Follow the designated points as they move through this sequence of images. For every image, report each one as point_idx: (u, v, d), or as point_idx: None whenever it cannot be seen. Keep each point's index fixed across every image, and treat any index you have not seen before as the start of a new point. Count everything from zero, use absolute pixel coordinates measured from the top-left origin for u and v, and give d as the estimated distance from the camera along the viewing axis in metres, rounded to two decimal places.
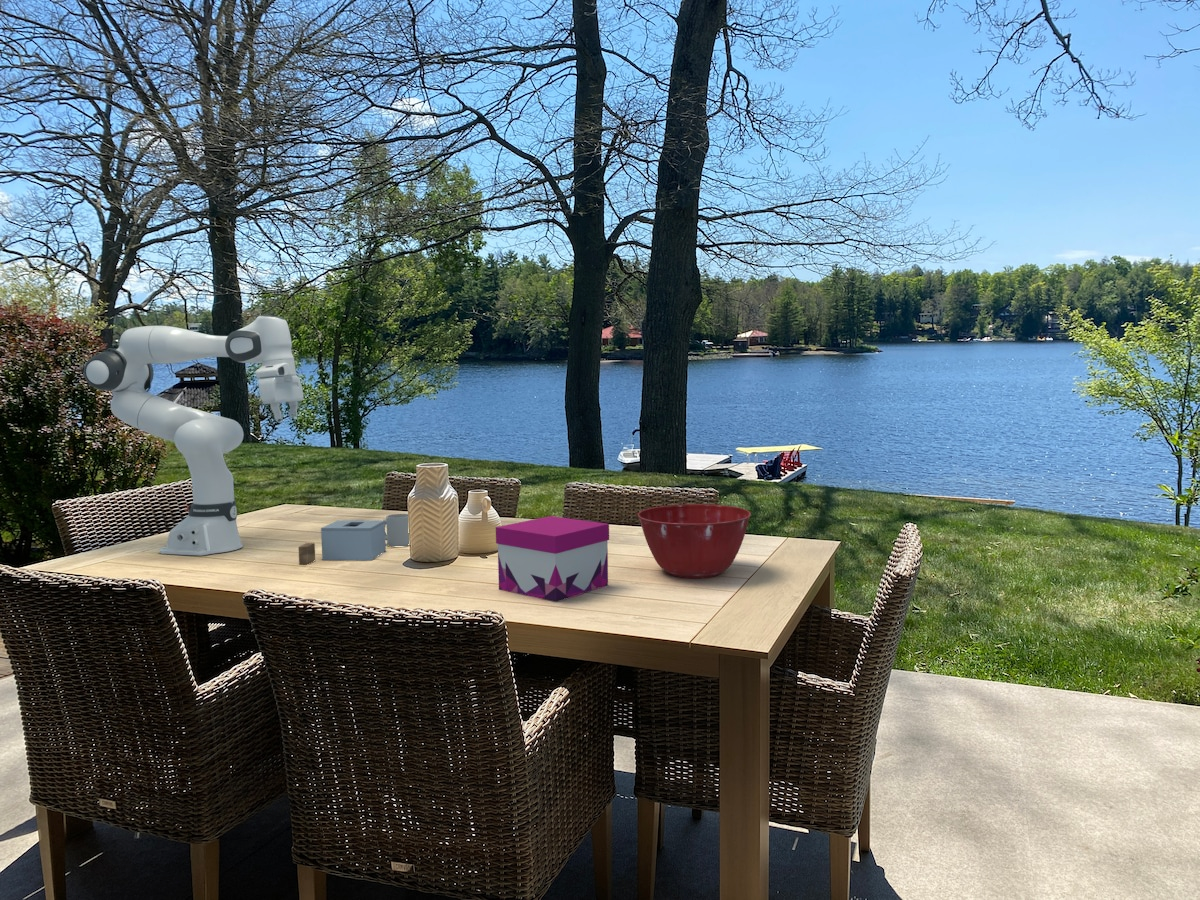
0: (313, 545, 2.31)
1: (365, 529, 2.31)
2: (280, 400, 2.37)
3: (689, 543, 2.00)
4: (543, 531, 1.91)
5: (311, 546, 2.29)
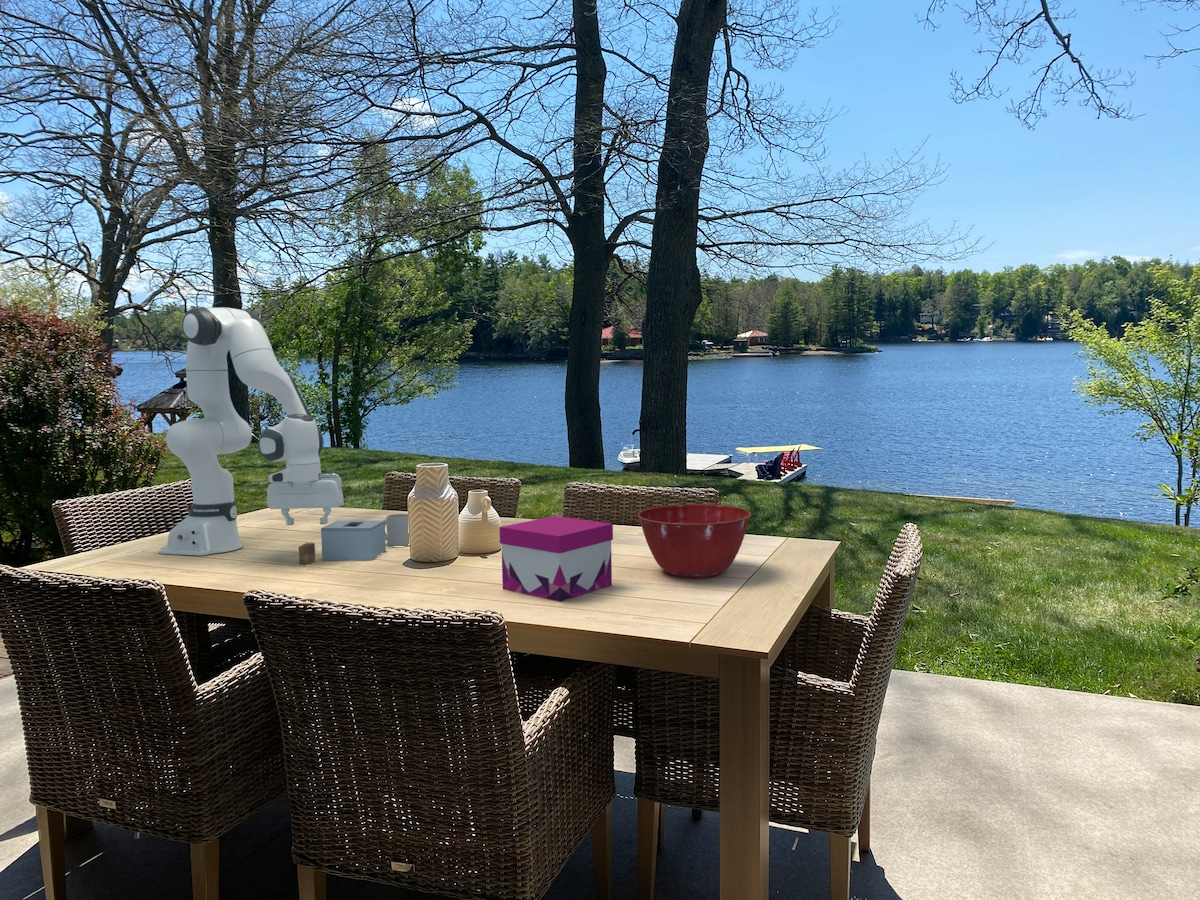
0: (313, 545, 2.31)
1: (365, 529, 2.31)
2: (282, 507, 2.27)
3: (689, 543, 2.00)
4: (547, 531, 1.91)
5: (311, 546, 2.29)
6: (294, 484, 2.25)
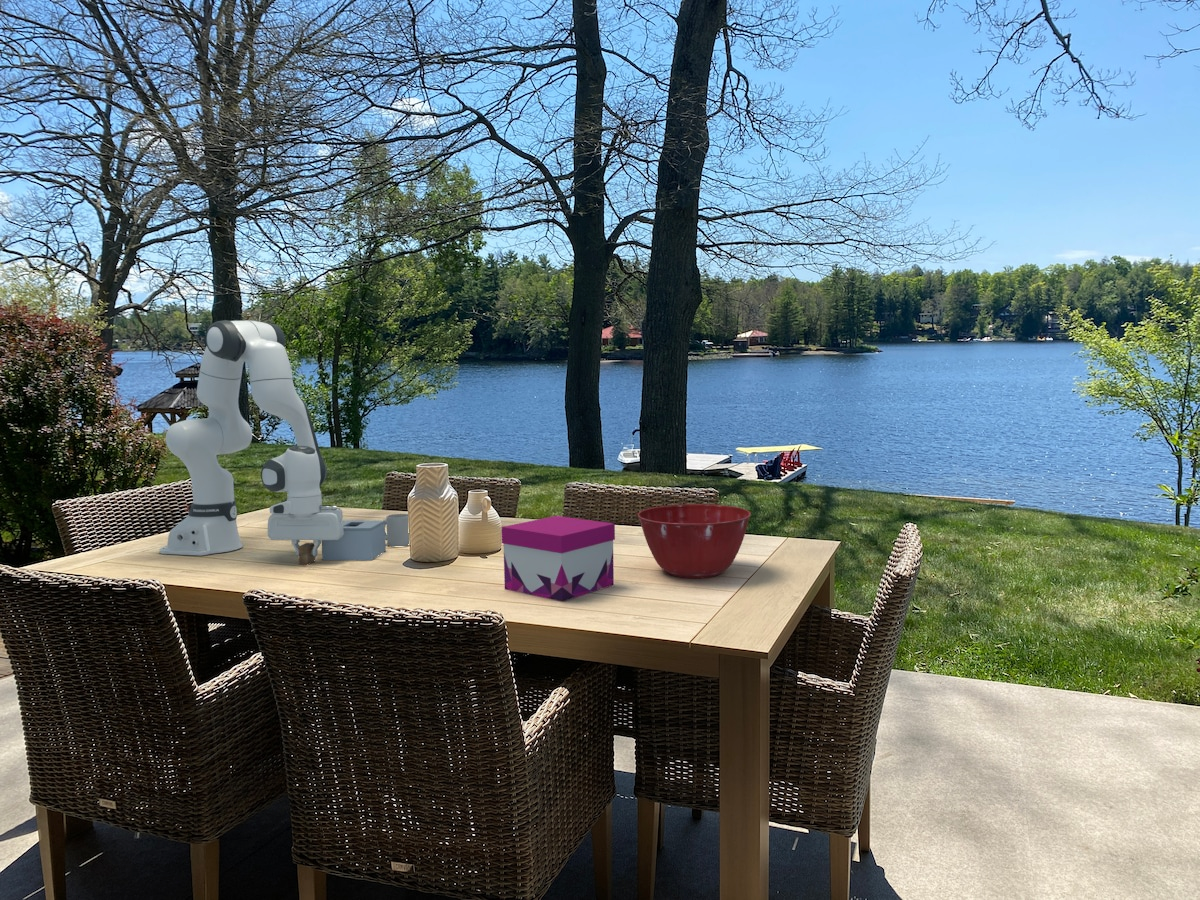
0: (313, 545, 2.31)
1: (365, 529, 2.31)
2: (282, 538, 2.28)
3: (689, 543, 2.00)
4: (549, 531, 1.91)
5: (311, 546, 2.29)
6: (295, 516, 2.26)
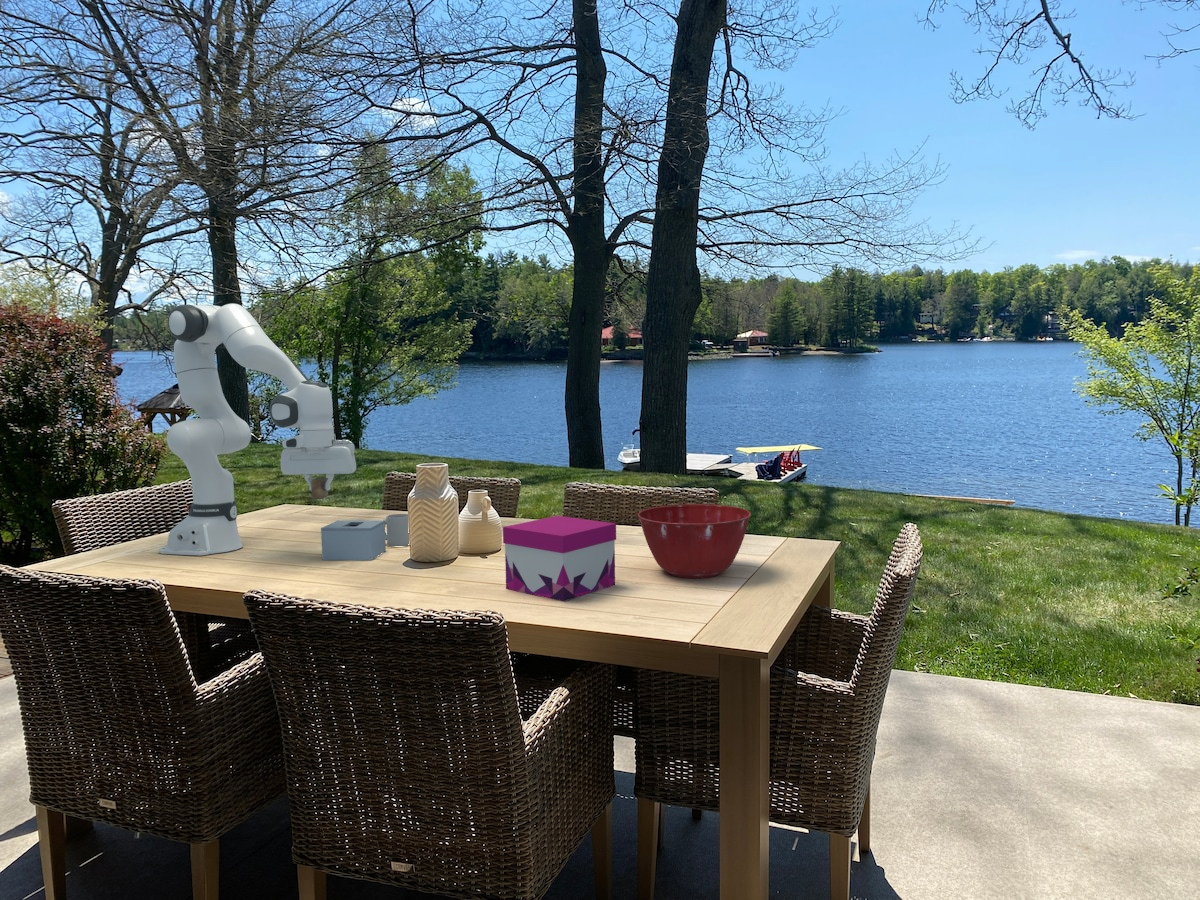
0: (326, 480, 2.31)
1: (365, 529, 2.31)
2: (295, 472, 2.28)
3: (689, 543, 2.00)
4: (550, 531, 1.91)
5: (324, 481, 2.30)
6: (307, 450, 2.26)
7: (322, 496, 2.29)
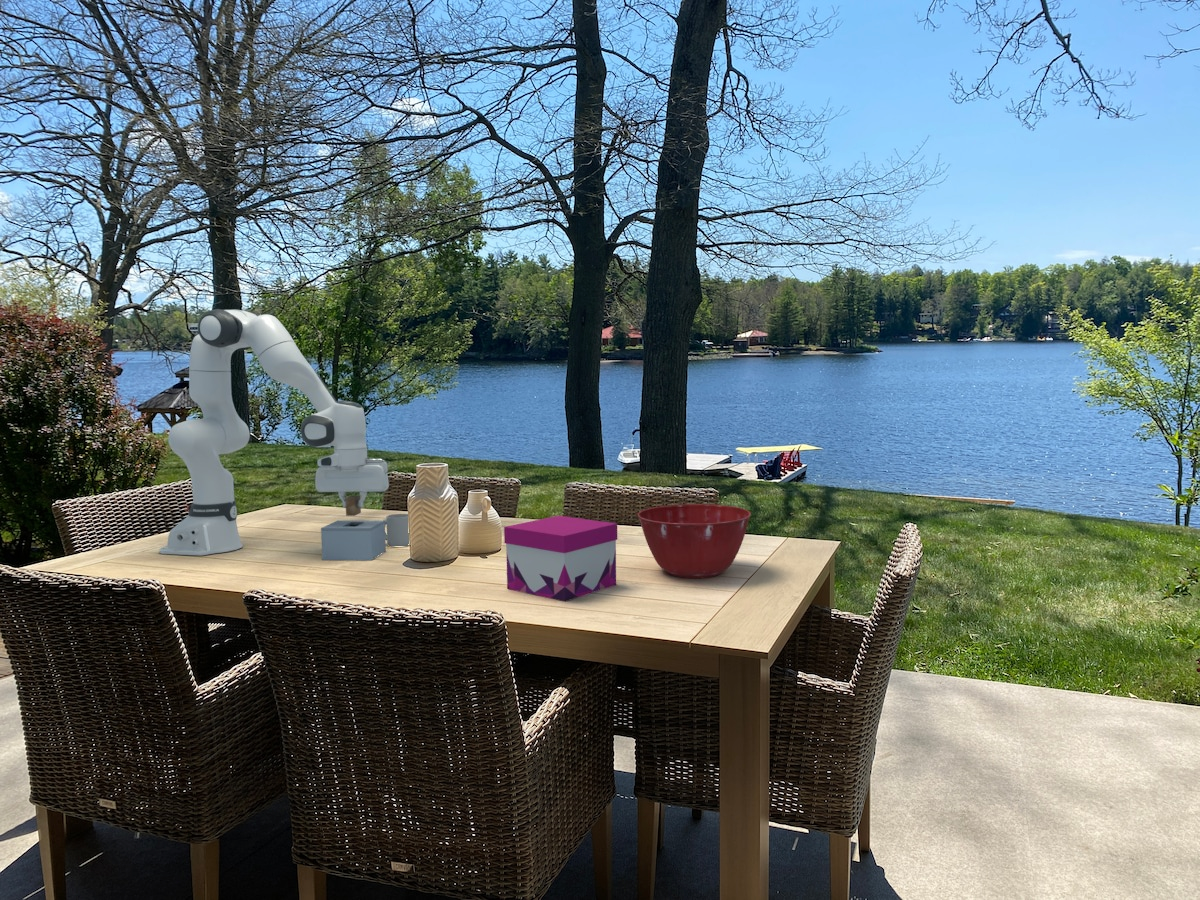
0: (359, 497, 2.38)
1: (365, 529, 2.31)
2: (330, 490, 2.35)
3: (689, 543, 2.00)
4: (552, 531, 1.91)
5: (357, 498, 2.36)
6: (342, 468, 2.33)
7: (356, 513, 2.35)
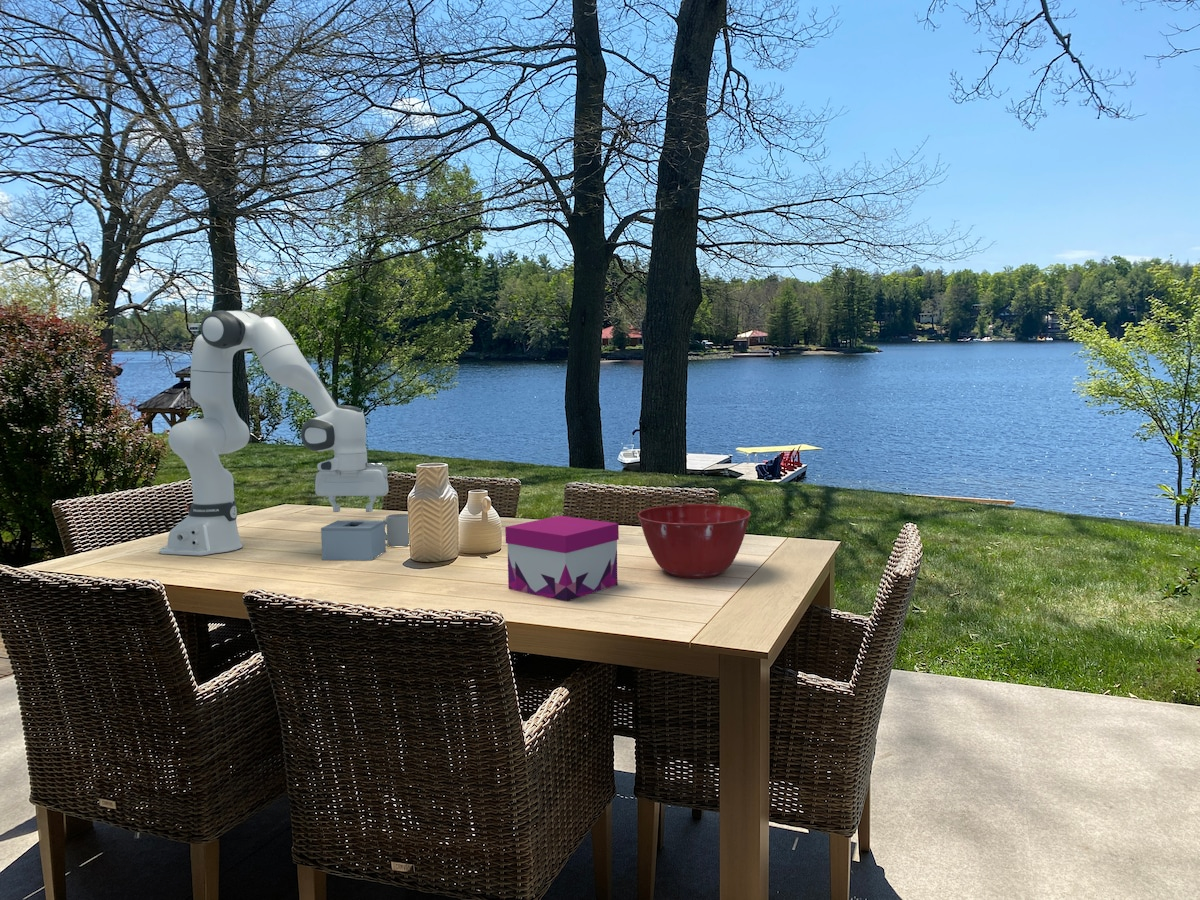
0: None
1: (365, 529, 2.31)
2: (329, 494, 2.35)
3: (689, 543, 2.00)
4: (553, 531, 1.91)
5: None
6: (342, 472, 2.33)
7: None
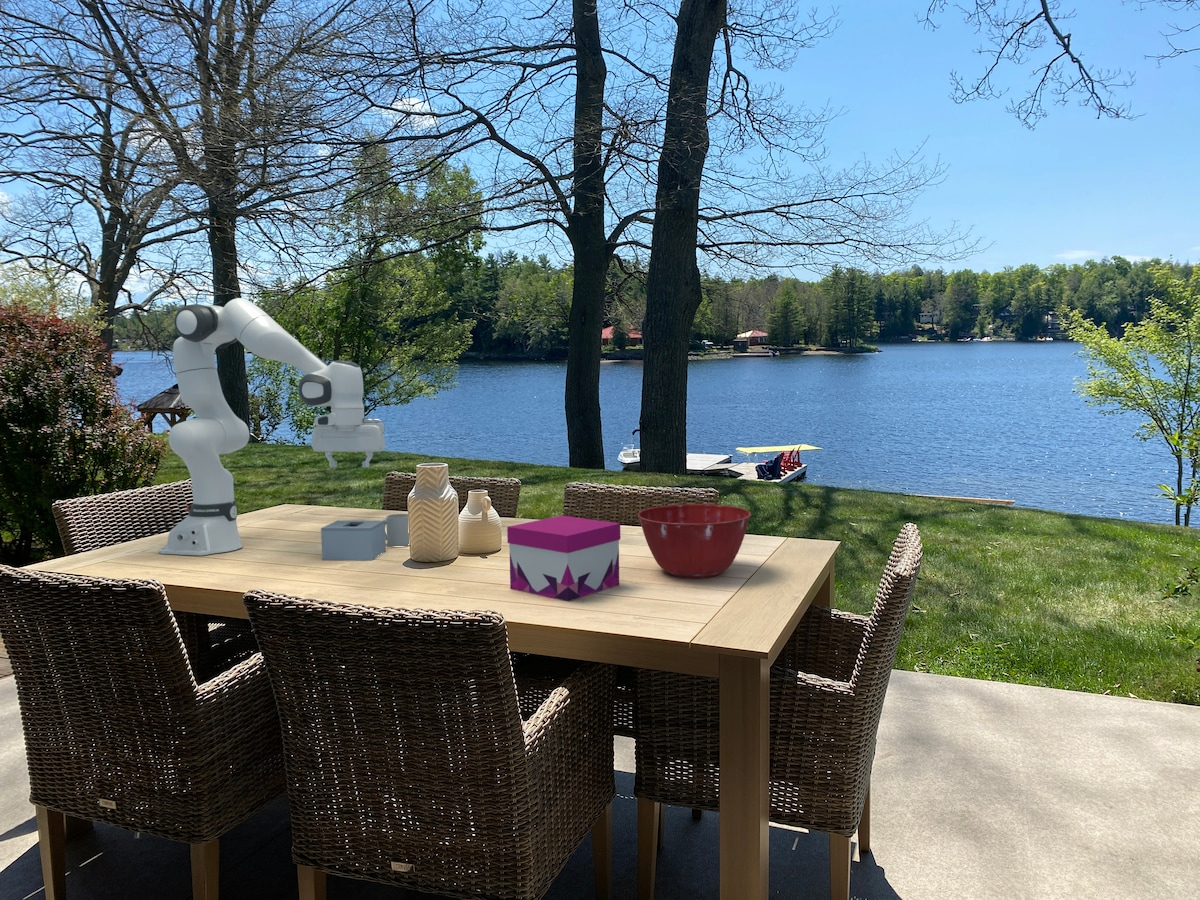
0: None
1: (365, 529, 2.31)
2: (326, 449, 2.34)
3: (689, 543, 2.00)
4: (555, 531, 1.91)
5: None
6: (339, 428, 2.33)
7: None
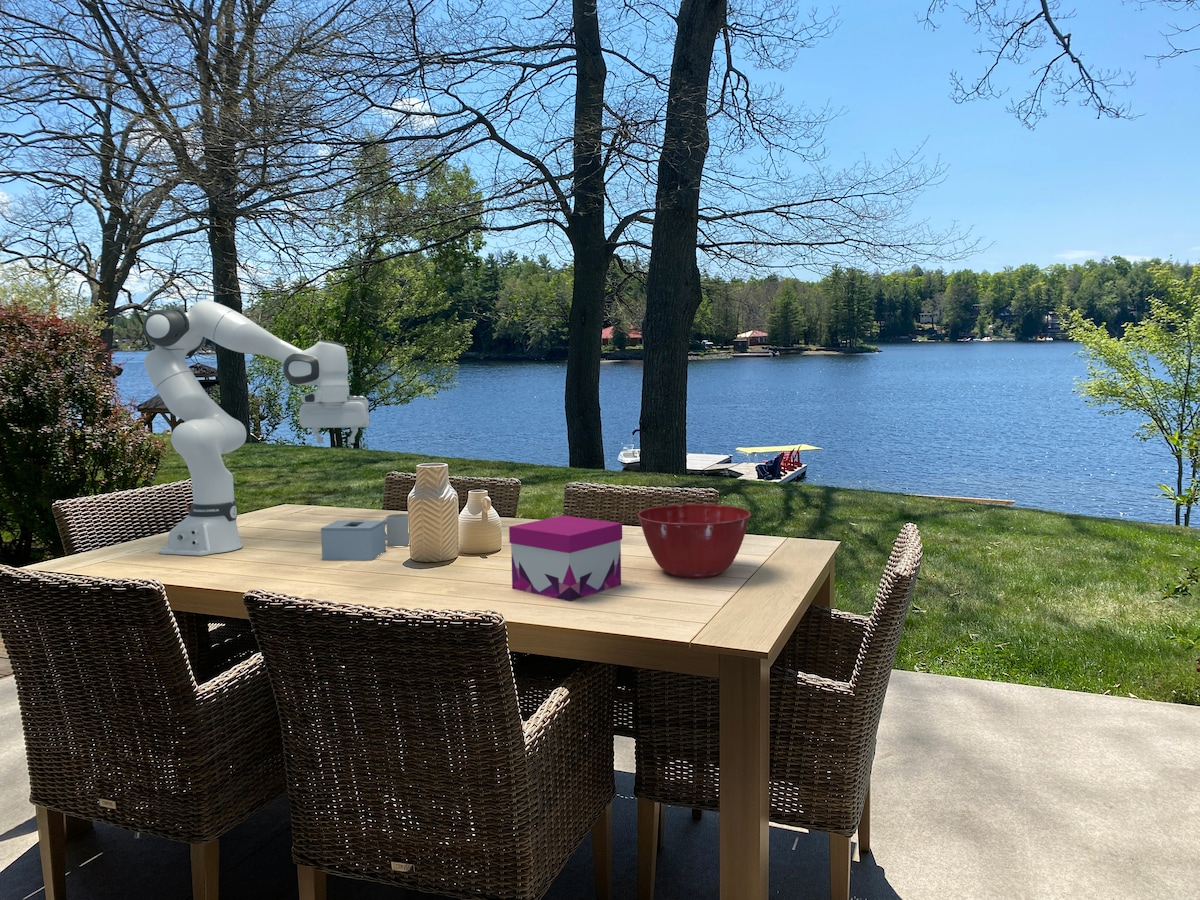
0: None
1: (365, 529, 2.31)
2: (313, 426, 2.46)
3: (689, 543, 2.00)
4: (557, 530, 1.91)
5: None
6: (325, 405, 2.44)
7: None
